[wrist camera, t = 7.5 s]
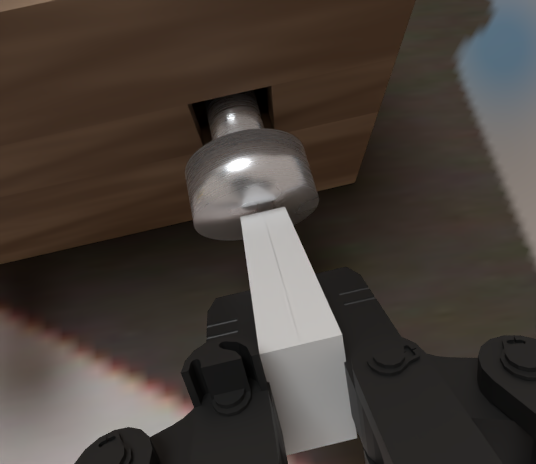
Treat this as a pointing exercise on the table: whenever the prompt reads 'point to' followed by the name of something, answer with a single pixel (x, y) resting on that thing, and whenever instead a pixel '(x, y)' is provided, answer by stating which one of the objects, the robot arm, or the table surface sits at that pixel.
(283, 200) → the steel knob
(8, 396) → the table surface
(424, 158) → the table surface
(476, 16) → the table surface
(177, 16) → the console
